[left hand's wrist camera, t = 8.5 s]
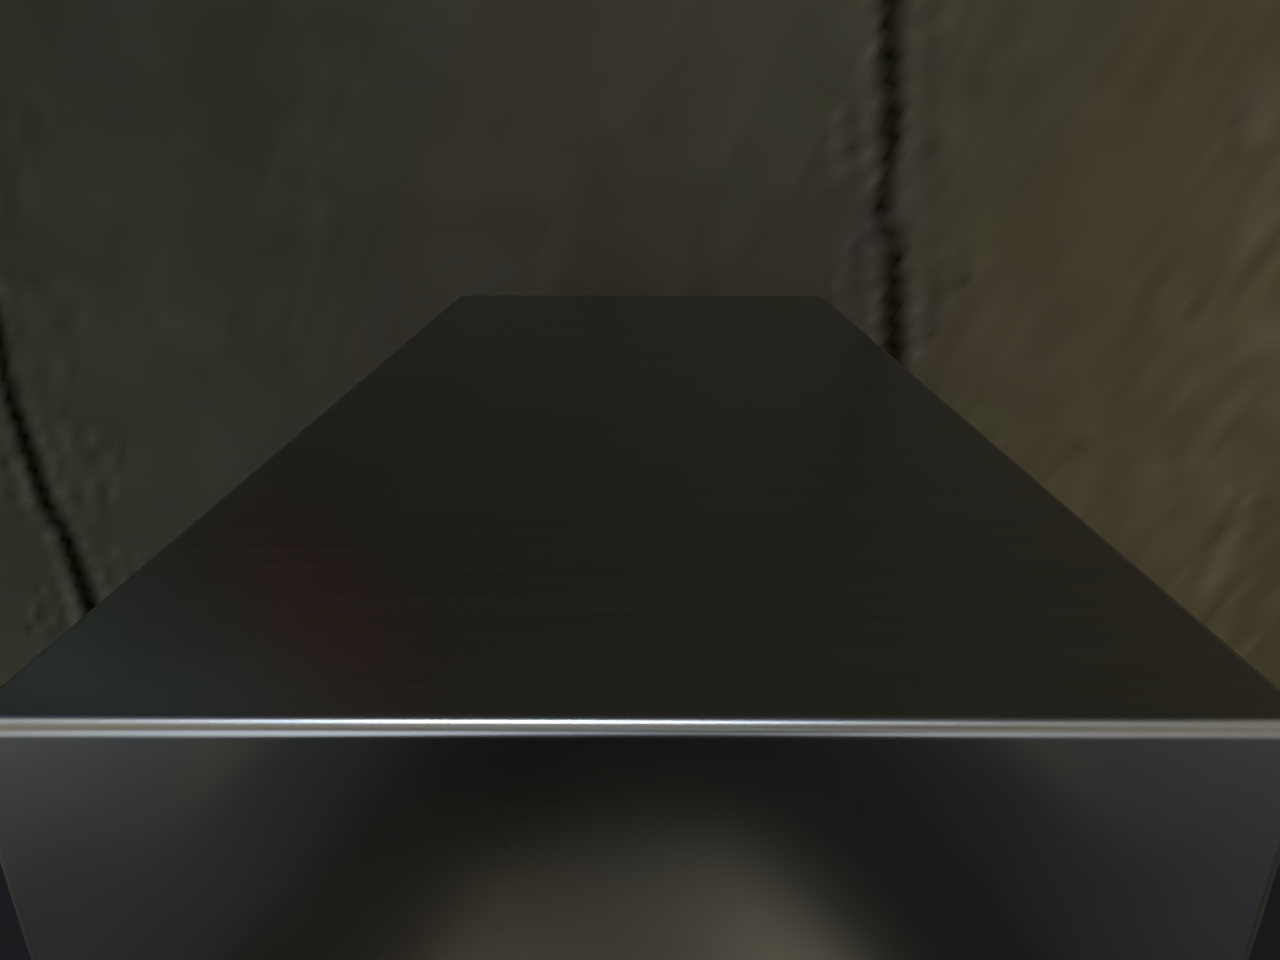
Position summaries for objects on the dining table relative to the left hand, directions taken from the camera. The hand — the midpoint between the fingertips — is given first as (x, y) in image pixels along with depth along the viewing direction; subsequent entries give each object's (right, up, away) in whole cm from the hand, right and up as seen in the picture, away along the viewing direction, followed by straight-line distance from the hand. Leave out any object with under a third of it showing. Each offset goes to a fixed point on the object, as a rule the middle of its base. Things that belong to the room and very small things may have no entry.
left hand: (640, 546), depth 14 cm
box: (0, -8, +5) cm, 10 cm away
